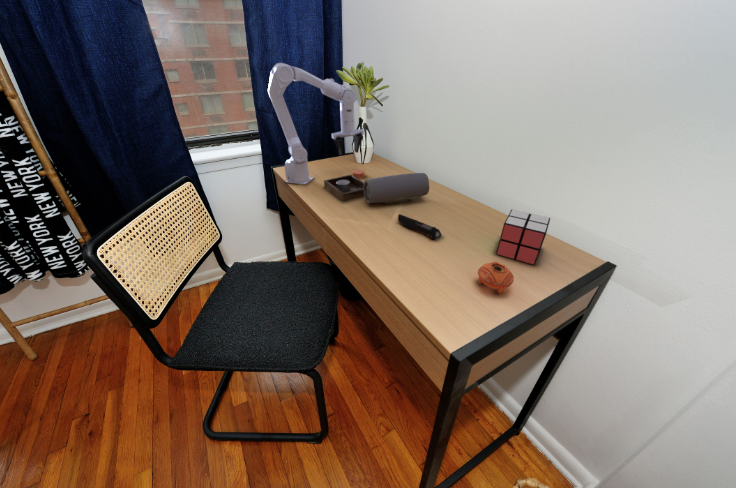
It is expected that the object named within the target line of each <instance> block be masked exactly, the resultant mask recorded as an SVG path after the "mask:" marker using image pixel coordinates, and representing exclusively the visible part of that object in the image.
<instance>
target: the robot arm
mask: <svg viewBox="0 0 736 488" xmlns="http://www.w3.org/2000/svg"><path fill="white" fill-rule="evenodd" d="M300 81H302V82H304V83H306V84H308V85H311V86H314V87H316V88H318V89H320V92H321V94H322V95H324V96H326V97H328V98H330V99H332V100H335V101H337V102H339V113H340V114H339V115H340V118H339V119H340V131H337V132H332V133H331V139H333V142H334V143H335V145H336V148H337V151H338V154H339V155H340V156H344V149H343V148H344V139H343V138H348V137H352V138H353V150H354V152H355V153H357V154H358V153H359V150H360V145H361V143H362V141H363V139H364V136H363V135H365V129H362V128H359V129H356V128H355V126H356V125H355V104H356V103H355V102H356V100H357V97H356V94H355V92H354V91H353V90H352V89H350V88H347V87H346V85H344V84H339V83H338V82H336V81H335V79H334V78H326V79H321V78H319V77H317V76H316V75H313V74H312V73H310V72H308V71H306V70H304V69H303V68H300V67H296V66H293V65H289V64H287V63H284V62H277V63H275V65H274V66H273V67H272V69H271V71H270V75H269V81H268V82H269V83H268V88H267V93H268V96H269V98H270V101H271V103H272V106H273V108H274V111H275V113H276V116H277V118H278V122H279V123H280V126H281V128H282V131H283V133H284V136H285V138H286V142H287V145H288V147H287V148H288V149H287V151H288V153H289V155H290V158H289V159H286V161H285V163H284V172H285V179H286V180H285V183H289V184H296V185H306V184H308V183H309V182H310V181H312V180H313V179H314V177H313V176H310V170H309V169H310V168H309V160H308V151H307V149H306V148H305V147H304V146H303V144H302V141H301V140H300V137H299V135H298V132H297V130H296V127H295V125H294V122H293V119H292V116H291V114H290V111H289V108H288V106H287V104H286V100H285V98H284V93H285V91H286V89H287V88H288V86H289V85H291V83H292V82H300Z"/></svg>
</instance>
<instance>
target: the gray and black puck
mask: <svg viewBox="0 0 736 488" xmlns="http://www.w3.org/2000/svg"><path fill="white" fill-rule="evenodd" d="M336 185H337V189H339V190H348V189H350V181H348V180H339V181H337V182H336Z"/></svg>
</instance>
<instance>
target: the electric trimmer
mask: <svg viewBox="0 0 736 488" xmlns="http://www.w3.org/2000/svg"><path fill="white" fill-rule="evenodd" d="M397 221H398V222H399V223H400V224H402V225H403V226H405V227H407V228H408V229H410V230H416V231H418V232H421V233H422V234H425V235H426V236H429V237H431V239H432V240H433V241H434V240H435V241H437V240H439V239H440V238H441V237H442V232H441V230H440V229H439V228H437V227H436V226H432V225H429V224H426V223H424V222H422V221H419V220H417V219H414V218H412V217H408V216H407V215H404V214H400V213H399V214H398V215H397Z"/></svg>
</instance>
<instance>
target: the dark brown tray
mask: <svg viewBox="0 0 736 488" xmlns="http://www.w3.org/2000/svg"><path fill="white" fill-rule="evenodd" d="M339 180H348V181H350V189H348V190H339V189H337V185H336V182H337V181H339ZM364 182H365V181H363V180H361V179H360V178H356V177H354V176H353V175H352V174H347V175H341V176H338V177H333V178H327V179H324V180H323V186H324V187H323V188H324V189H326V190H327V191H329V193H331V194H332V195H333V196H335V197H336V198H338V200H340V201H342V203H344V202H349V201H352V200H356V199H360V198H365V197H364V190H363V187H364Z"/></svg>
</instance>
